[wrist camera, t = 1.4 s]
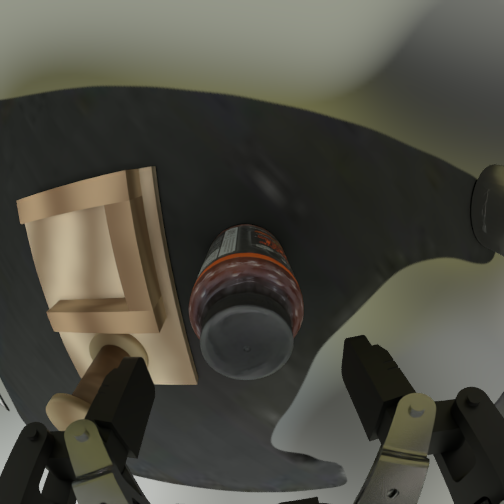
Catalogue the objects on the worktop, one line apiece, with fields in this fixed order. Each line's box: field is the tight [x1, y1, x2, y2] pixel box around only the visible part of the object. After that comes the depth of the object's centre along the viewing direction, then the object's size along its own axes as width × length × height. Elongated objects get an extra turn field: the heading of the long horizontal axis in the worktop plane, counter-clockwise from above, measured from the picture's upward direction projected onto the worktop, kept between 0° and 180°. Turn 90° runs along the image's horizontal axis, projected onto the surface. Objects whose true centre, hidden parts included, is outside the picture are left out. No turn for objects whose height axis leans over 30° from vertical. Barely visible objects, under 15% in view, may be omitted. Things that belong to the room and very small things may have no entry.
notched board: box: [17, 166, 198, 385], centre depth 21 cm, size 14×20×4 cm
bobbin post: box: [46, 333, 149, 431], centre depth 19 cm, size 6×6×10 cm
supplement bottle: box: [189, 224, 304, 380], centre depth 17 cm, size 6×6×11 cm
